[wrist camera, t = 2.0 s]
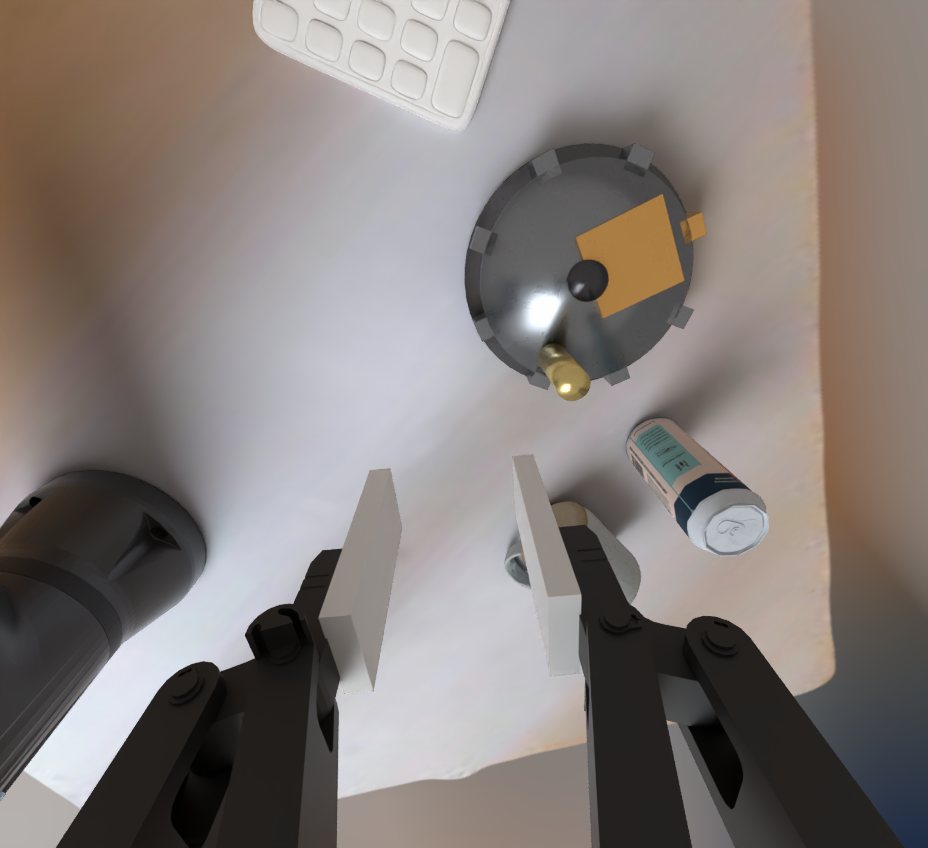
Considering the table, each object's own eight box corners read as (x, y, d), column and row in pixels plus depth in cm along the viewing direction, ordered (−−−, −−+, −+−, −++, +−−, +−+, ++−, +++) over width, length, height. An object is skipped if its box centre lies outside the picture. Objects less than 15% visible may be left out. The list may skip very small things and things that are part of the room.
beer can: (663, 470, 38) (748, 569, 27) (614, 457, 37) (681, 553, 26) (690, 423, 36) (793, 509, 25) (639, 408, 35) (723, 489, 24)
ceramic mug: (572, 480, 38) (597, 538, 31) (623, 534, 41) (657, 598, 34) (483, 544, 41) (488, 609, 34) (536, 589, 44) (550, 659, 37)
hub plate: (435, 344, 33) (435, 345, 32) (514, 102, 26) (515, 100, 26) (621, 406, 35) (623, 408, 35) (733, 199, 29) (737, 198, 28)
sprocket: (437, 345, 32) (432, 380, 25) (516, 102, 26) (541, 52, 18) (624, 408, 34) (669, 456, 27) (737, 199, 28) (835, 189, 21)
